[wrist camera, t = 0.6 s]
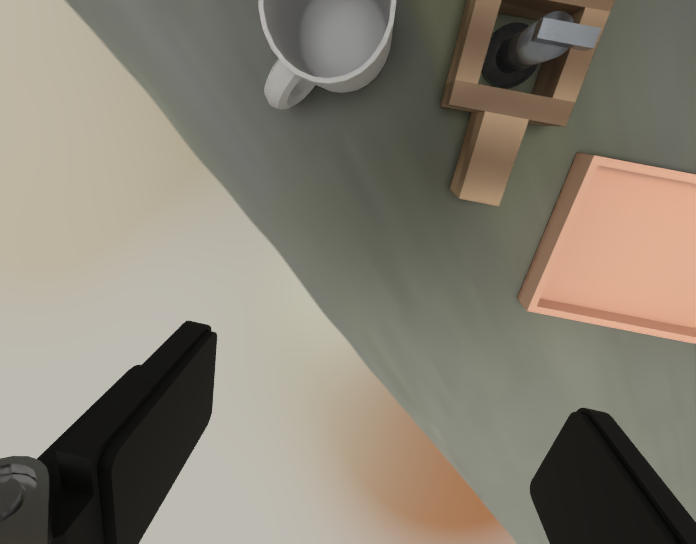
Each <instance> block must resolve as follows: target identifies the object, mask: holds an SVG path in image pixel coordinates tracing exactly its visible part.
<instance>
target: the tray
mask: <svg viewBox="0 0 696 544" xmlns="http://www.w3.org/2000/svg"><path fill="white" fill-rule="evenodd" d="M517 298H518V300H519V301H520V302H521V304H522V305H523V306H524V308H525V309H526V310H527V311H530V312H535V313H540V314H545V315H550V316H555V317H561V318H566V319H571V320H576V321H581V322H586V323H591V324H596V325H602V326H607V327H612V328H617V329H622V330H627V331H632V332H638V333H643V334H648V335H653V336H658V337H663V338H668V339H674V340H679V341H684V342H689V343H694V344H696V175H695V174H690V173H685V172H679V171H674V170H669V169H663V168H658V167H653V166H648V165H642V164H637V163H632V162H627V161H621V160H616V159H611V158H606V157H600V156H595V155H589V154H583V153H577V154H576V156H575V159H574V161H573V163H572V166H571V168H570V171H569V173H568V176H567V178H566V180H565V183H564V185H563V188H562V190H561V193H560V195H559V197H558V200H557V202H556V205H555V207H554V210H553V212H552V214H551V217H550V219H549V222H548V224H547V227H546V229H545V231H544V234H543V236H542V239H541V241H540V244H539V246H538V248H537V251H536V253H535V256H534V258H533V261H532V263H531V265H530V268H529V270H528V273H527V275H526V277H525V280H524V282H523V285H522V287H521V290H520V292H519V294H518V297H517Z"/></svg>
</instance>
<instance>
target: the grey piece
mask: <svg viewBox="0 0 696 544" xmlns="http://www.w3.org/2000/svg"><path fill="white" fill-rule="evenodd" d="M600 31H601V28H598V27H592V26H587V25H582V24H576V23H574V20H573V18H572V17H571V16H570V15H569V14H568V13H566V12H563V11H554V12H551V13H549V14H547V15H545V16H544V17H542V18H541V19H539V20H538V21H536V22H534V23H533V24H531V25H530V26H528V25H526V24H522V23H512V24H508V25H505V26H503V27H501V28H500V29H498V30H497V31H496V32H495V33H494V34H492V36H491V39H490V43H489V46H488V50H487V53H486V57H485V60H484V64H483V67H482V73H483V76H484V77H485V79H486V80H487V81H488V82H489V83H490V84H492V85H493V86H496V87H499V88H508V87H513V86H516V85H518V84H521V83H522V82H524V81H525V80H526V79H528V78H529V77H530V75H531V74H532V73H533V72H534V70H535V69H536V67H537V65H538V64H539V63H542V62H545V61H548V60H550V59H553V58H556V57H558V56H560V55H562V54H563V53H565V52H566V51H567V50H568V48H569V49H575V50H580V51H587V50H590V49H593V48H594V46H595V44H596V41H597V39H598V36H599V34H600Z"/></svg>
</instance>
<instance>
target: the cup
mask: <svg viewBox="0 0 696 544" xmlns="http://www.w3.org/2000/svg"><path fill="white" fill-rule="evenodd" d="M395 8H396V0H259V13H260V18H261V23H262V28H263V31H264V33H265V36H266V38H267V40H268V42H269V45H270V47H271V49H272V50H273V51H274V53H275V54H276V55H277V57H278V60H277V61H276V63H275V64H274V66H273V67H272V69H271V71H270V73H269V76H268V78H267V81H266V84H265V87H264V94H265V96H266V98H267V100H268V102H269V104H270V105H271V106H272V107H275V108H277V109H280V110H285V109H288V108H290V107H292V106H294V105H296V104H297V103H299V102H300V101H302V100H303V99H304V98H305V97H306V96H307V95H308V94H309V93H310V91H311V90H312V89H313V88H314V87H315V85H317V86H319V87H322V88H324V89H326V90H328V91H331V92H339V93H346V92H352V91H356V90H358V89H360V88H362V87H364V86H366V85H368V84H369V83H370V82H371V81H372V80H373V79H374V78H376V77H377V75H378V74H379V72H380V71H381V69H382V68H383V66H384V65H385V62H386V60H387V57H388V54H389V52H390V48H391V40H392V32H393V24H394V16H395Z"/></svg>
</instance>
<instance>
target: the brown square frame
mask: <svg viewBox="0 0 696 544" xmlns="http://www.w3.org/2000/svg"><path fill="white" fill-rule="evenodd" d="M614 1H615V0H467V1H466V5H465V9H464V13H463V17H462V21H461V25H460V29H459V33H458V37H457V41H456V45H455V49H454V53H453V57H452V61H451V65H450V69H449V73H448V77H447V81H446V85H445V89H444V93H443V97H442V101H441V105H440V107H446V108H451V109H456V110H462V111H467V112H472V113H471V116H470V120H469V123H468V127H467V130H466V134H465V137H464V141H463V144H462V148H461V151H460V155H459V158H458V162H457V165H456V169H455V172H454V176H453V179H452V183H451V186H450V190H451V191H452V192H453V193H454V194H455V195H456V196H457V197H458V198H459V199H464V200H469V201H475V202H480V203H485V204H490V205H495V206H499V205H500V202H501V199H502V196H503V193H504V190H505V187H506V185H507V182H508V179H509V176H510V173H511V170H512V167H513V164H514V162H515V159H516V156H517V153H518V150H519V147H520V144H521V141H522V139H523V136H524V133H525V130H526V127H527V124H528V123H530V124H536V125H541V126H565V127H566V124H567V122H568V119H569V117H570V114H571V112H572V109H573V106H574V104H575V101H576V99H577V96H578V94H579V91H580V88H581V86H582V83H583V81H584V78H585V76H586V73H587V70H588V68H589V65H590V63H591V60H592V58H593V55H594V52H595V50H596V47H597V45H598V42H599V40H600V37H601V34H602V32H603V29H604V27H605V24H606V22H607V19H608V16H609V14H610V11H611V9H612V6H613V4H614ZM554 11H563V12H566V13H568V14H569V15H570V16H571V17H572V18H573V20H574V23H576V24H582V25H587V26H592V27H598V28H601V31H600V34H599V36H598V39H597V41H596V44H595V46H594V48H593V49H590V50H587V51H580V50H575V49H569V48H568V50H567V51H566V52H565V53H563V54H562V55H560V56H558V57H556V58H553V59H550V60H548V61H545V62H543V63H542V66H541V69H540V72H539V75H538V78H537V81H536V84H535V86H534V89H533V92H532V94H528V93H523V92H518V91H512V90H507V89H502V88H497V87H491V86H486V85H481V84H478V81H479V78H480V74H481V71H482V67H483V64H484V60H485V57H486V53H487V50H488V46H489V43H490V39H491V36H492V32H493V28H494V25H495V21H496V18H497V14H498V13H502V14H507V15H513V16H518V17H524V18H529V19H534V20H539V19H541V18H542V17H544V16H545V15H547V14H549V13H551V12H554Z"/></svg>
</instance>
